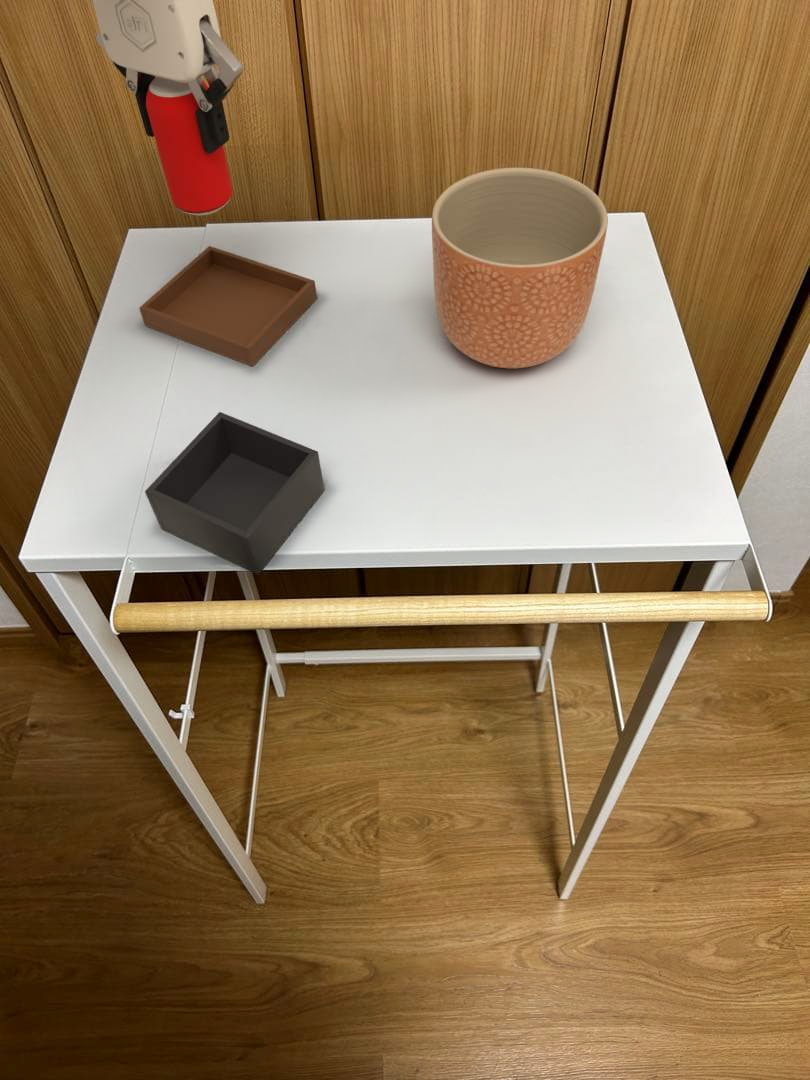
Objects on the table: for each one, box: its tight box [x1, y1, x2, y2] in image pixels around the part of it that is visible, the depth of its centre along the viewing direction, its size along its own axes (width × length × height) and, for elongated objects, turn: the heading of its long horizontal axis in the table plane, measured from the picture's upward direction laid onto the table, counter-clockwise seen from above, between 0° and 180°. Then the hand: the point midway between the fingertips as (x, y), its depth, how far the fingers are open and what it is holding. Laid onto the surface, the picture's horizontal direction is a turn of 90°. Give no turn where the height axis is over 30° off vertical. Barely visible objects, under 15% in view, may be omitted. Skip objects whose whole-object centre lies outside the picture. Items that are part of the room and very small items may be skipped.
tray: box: [138, 245, 318, 367], centre depth 96 cm, size 15×13×3 cm
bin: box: [144, 411, 325, 576], centre depth 77 cm, size 11×11×6 cm
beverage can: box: [146, 76, 233, 216], centre depth 80 cm, size 6×6×12 cm
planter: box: [431, 167, 609, 369], centre depth 87 cm, size 17×17×15 cm
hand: (187, 136), depth 79 cm, fingers closed on beverage can, 6 cm apart
